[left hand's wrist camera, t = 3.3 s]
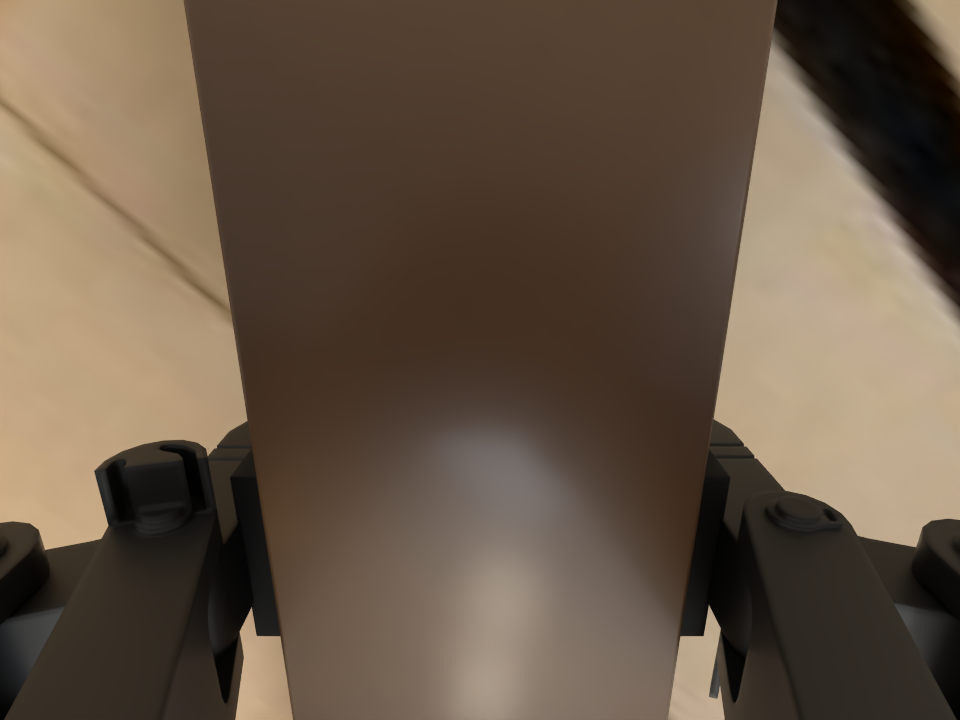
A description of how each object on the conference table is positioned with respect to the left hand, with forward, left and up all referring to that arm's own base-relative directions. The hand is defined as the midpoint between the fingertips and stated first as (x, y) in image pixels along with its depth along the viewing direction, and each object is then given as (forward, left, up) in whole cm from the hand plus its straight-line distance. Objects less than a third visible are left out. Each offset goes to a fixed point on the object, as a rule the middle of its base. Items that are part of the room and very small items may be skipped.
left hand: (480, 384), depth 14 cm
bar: (+3, +29, -1) cm, 29 cm away
